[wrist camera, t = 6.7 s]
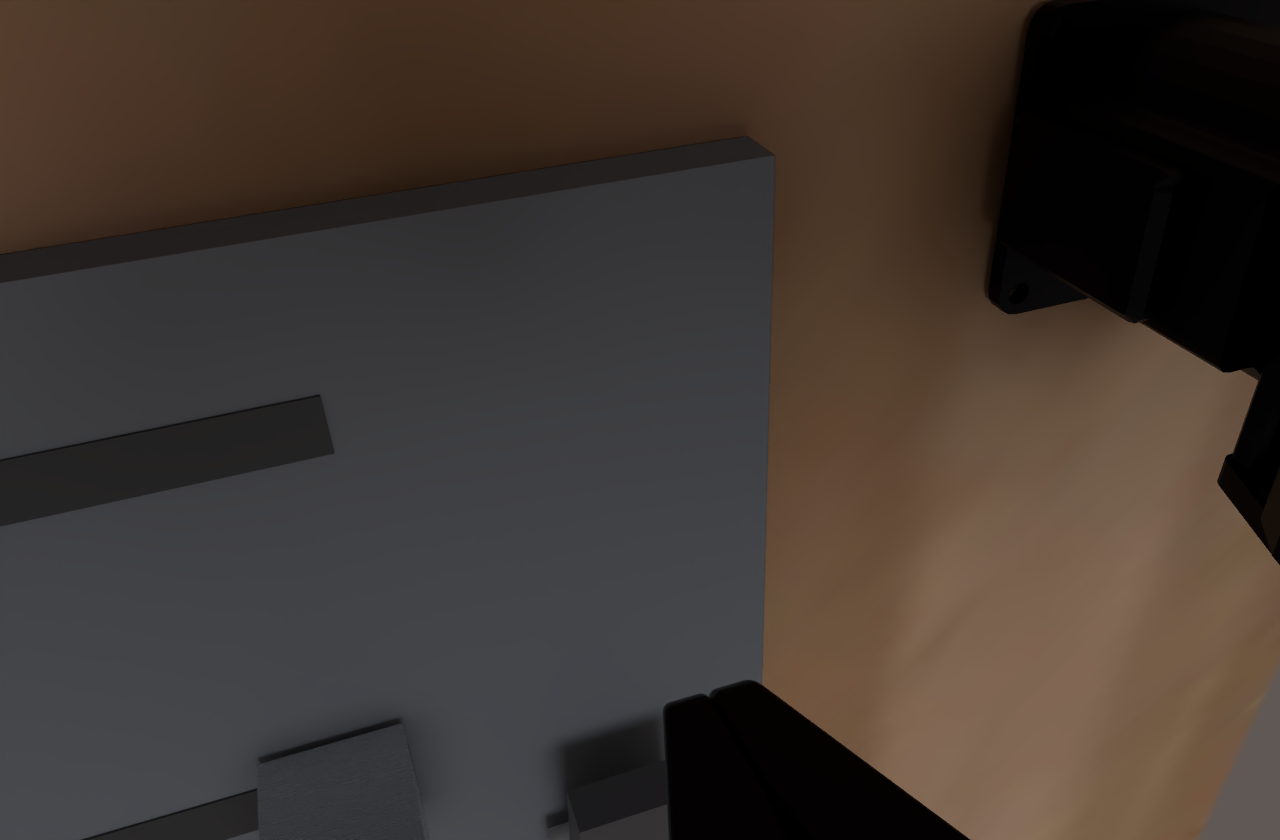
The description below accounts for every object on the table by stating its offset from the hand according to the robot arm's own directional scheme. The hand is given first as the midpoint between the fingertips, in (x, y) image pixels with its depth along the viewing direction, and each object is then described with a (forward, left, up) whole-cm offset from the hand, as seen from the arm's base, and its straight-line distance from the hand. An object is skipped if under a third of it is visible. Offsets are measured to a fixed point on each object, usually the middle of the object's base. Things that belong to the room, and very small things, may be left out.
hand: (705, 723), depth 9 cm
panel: (+4, +8, -12) cm, 15 cm away
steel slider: (+4, +11, -11) cm, 16 cm away
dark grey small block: (-2, +15, -11) cm, 18 cm away
